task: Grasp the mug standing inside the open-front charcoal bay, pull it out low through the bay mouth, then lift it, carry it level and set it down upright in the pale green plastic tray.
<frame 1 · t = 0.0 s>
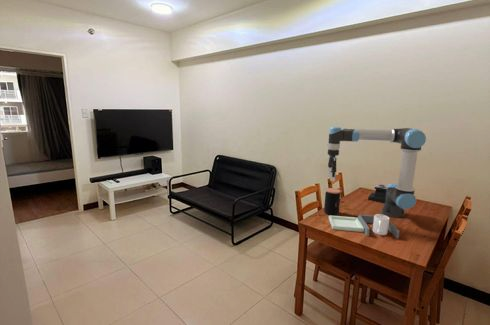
hand: (331, 178, 187), 28 cm above the table, fingers open, 13 cm apart
bay: (376, 229, 171), on the table
tray: (345, 225, 177), on the table
coffee jar: (331, 213, 197), on the table
mug: (379, 233, 166), on the table
camera: (379, 200, 228), on the table
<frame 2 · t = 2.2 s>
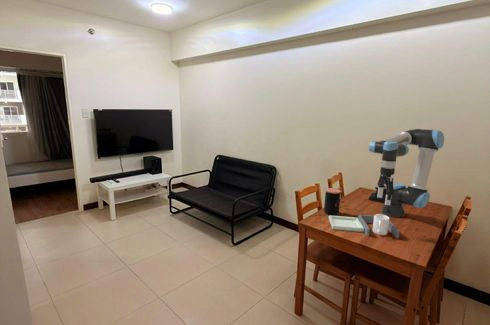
hand: (383, 201, 161), 22 cm above the table, fingers open, 13 cm apart
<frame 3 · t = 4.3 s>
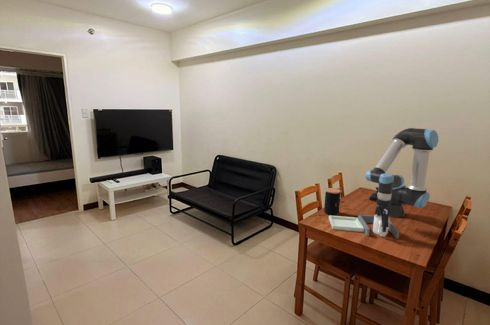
hand: (379, 231, 166), 1 cm above the table, fingers closed on mug, 11 cm apart
mug: (379, 233, 166), on the table, touching gripper
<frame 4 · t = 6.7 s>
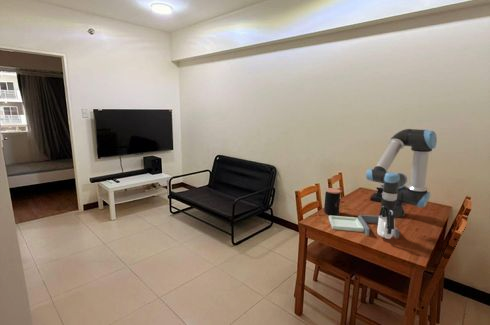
hand: (384, 233, 157), 4 cm above the table, fingers closed on mug, 11 cm apart
mug: (384, 236, 157), point 2 cm above the table, touching gripper
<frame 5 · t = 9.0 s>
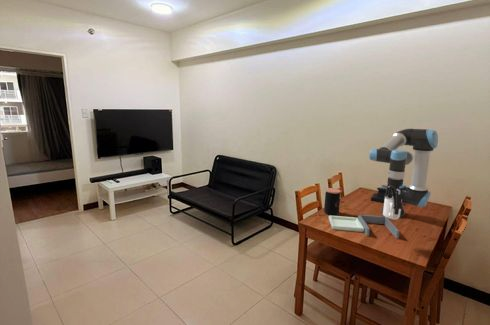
hand: (390, 215, 150), 18 cm above the table, fingers closed on mug, 11 cm apart
mug: (390, 217, 149), point 17 cm above the table, touching gripper
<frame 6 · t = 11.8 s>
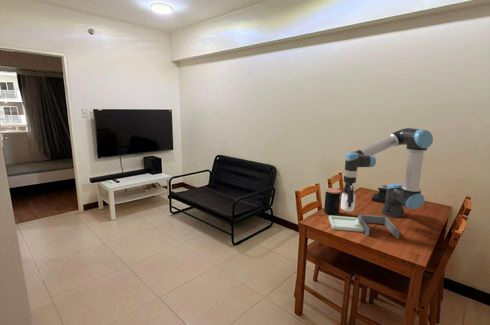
hand: (346, 208, 175), 12 cm above the table, fingers closed on mug, 11 cm apart
mug: (346, 210, 174), point 11 cm above the table, touching gripper
when the fingers open (3 cm above the table, at t = 13.9 s): mug drops 1 cm, resting on tray.
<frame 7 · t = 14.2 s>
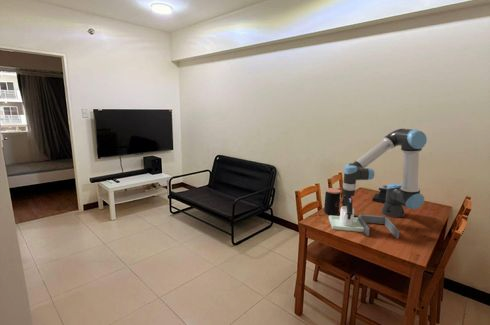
hand: (345, 219, 176), 4 cm above the table, fingers open, 13 cm apart
mug: (345, 224, 177), point 1 cm above the table, touching tray
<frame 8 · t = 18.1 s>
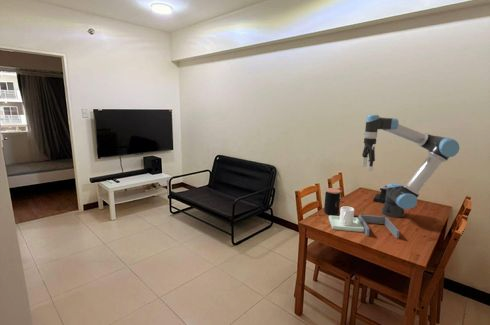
hand: (366, 168, 181), 37 cm above the table, fingers open, 13 cm apart
at the end: mug inside the target area on the tray (0.5 cm from its centre), point 0.6 cm above the tray's base; mug tilted 0°; the gripper is holding nothing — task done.
